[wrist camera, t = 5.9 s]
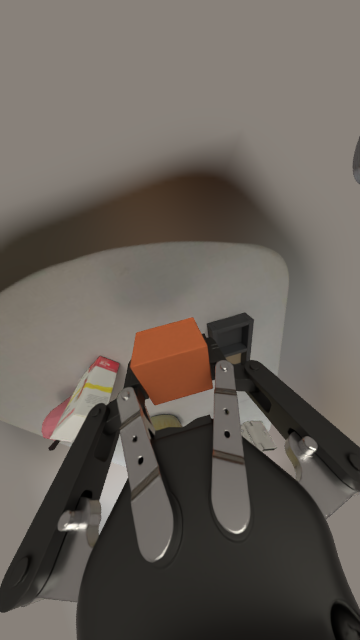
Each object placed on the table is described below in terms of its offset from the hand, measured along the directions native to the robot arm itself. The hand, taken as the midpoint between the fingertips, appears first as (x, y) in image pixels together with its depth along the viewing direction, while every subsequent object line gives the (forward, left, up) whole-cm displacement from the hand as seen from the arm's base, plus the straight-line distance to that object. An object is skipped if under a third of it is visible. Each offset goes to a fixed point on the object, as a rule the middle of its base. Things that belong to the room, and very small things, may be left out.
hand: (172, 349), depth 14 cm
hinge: (-22, +75, -14) cm, 79 cm away
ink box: (+19, +13, -14) cm, 27 cm away
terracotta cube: (0, 0, -1) cm, 1 cm away
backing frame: (-12, +17, -14) cm, 25 cm away
